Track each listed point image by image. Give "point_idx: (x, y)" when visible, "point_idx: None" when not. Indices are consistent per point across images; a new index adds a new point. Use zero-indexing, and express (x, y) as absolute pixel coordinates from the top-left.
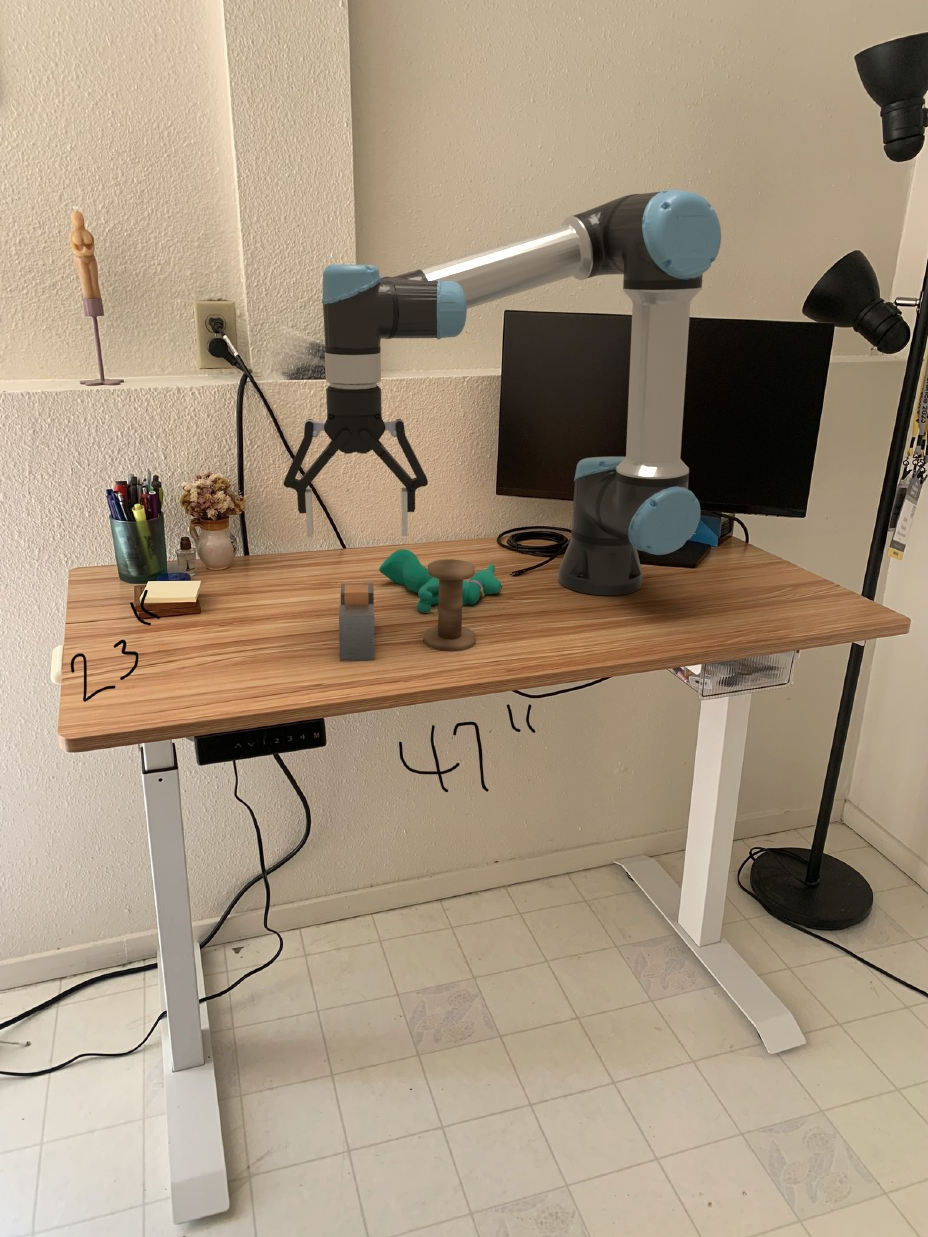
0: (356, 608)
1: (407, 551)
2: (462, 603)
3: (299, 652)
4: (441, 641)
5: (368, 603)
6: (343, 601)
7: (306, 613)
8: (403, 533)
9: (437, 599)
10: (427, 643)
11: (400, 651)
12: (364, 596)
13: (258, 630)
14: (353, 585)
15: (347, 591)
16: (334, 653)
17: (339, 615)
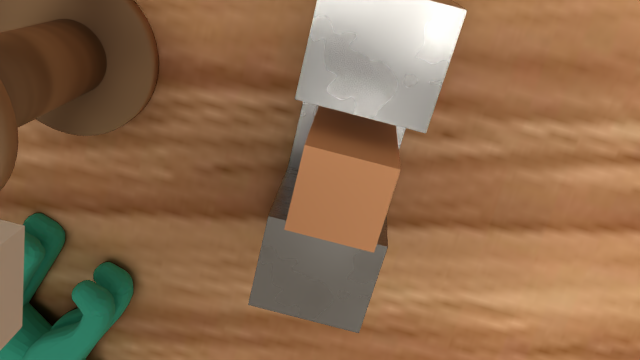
0: (373, 73)
1: None
2: None
3: (541, 98)
4: (103, 10)
5: None
6: None
7: (433, 353)
8: (6, 232)
9: (67, 314)
10: (149, 34)
11: (241, 17)
12: (322, 142)
13: (599, 284)
14: (343, 235)
15: (385, 178)
16: None
17: (463, 12)
